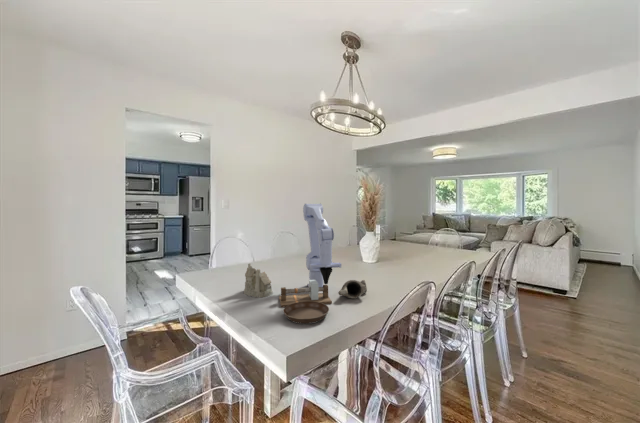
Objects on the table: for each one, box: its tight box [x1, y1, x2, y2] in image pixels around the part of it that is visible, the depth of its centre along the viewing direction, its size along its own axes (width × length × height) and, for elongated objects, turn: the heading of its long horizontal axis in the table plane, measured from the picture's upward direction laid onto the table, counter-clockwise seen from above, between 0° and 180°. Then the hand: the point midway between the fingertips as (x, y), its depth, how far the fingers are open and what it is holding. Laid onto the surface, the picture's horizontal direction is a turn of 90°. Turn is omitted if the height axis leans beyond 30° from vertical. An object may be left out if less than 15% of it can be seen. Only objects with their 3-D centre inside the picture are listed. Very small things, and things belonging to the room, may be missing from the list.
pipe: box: [337, 279, 368, 299], centre depth 134 cm, size 16×9×15 cm
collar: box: [308, 279, 319, 300], centre depth 128 cm, size 7×3×7 cm, turn 12°
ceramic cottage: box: [243, 263, 274, 299], centre depth 141 cm, size 16×16×15 cm
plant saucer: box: [282, 301, 330, 325], centre depth 110 cm, size 18×18×3 cm
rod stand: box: [278, 284, 333, 308], centre depth 127 cm, size 12×22×6 cm, turn 102°
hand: (325, 283), depth 132 cm, fingers closed
